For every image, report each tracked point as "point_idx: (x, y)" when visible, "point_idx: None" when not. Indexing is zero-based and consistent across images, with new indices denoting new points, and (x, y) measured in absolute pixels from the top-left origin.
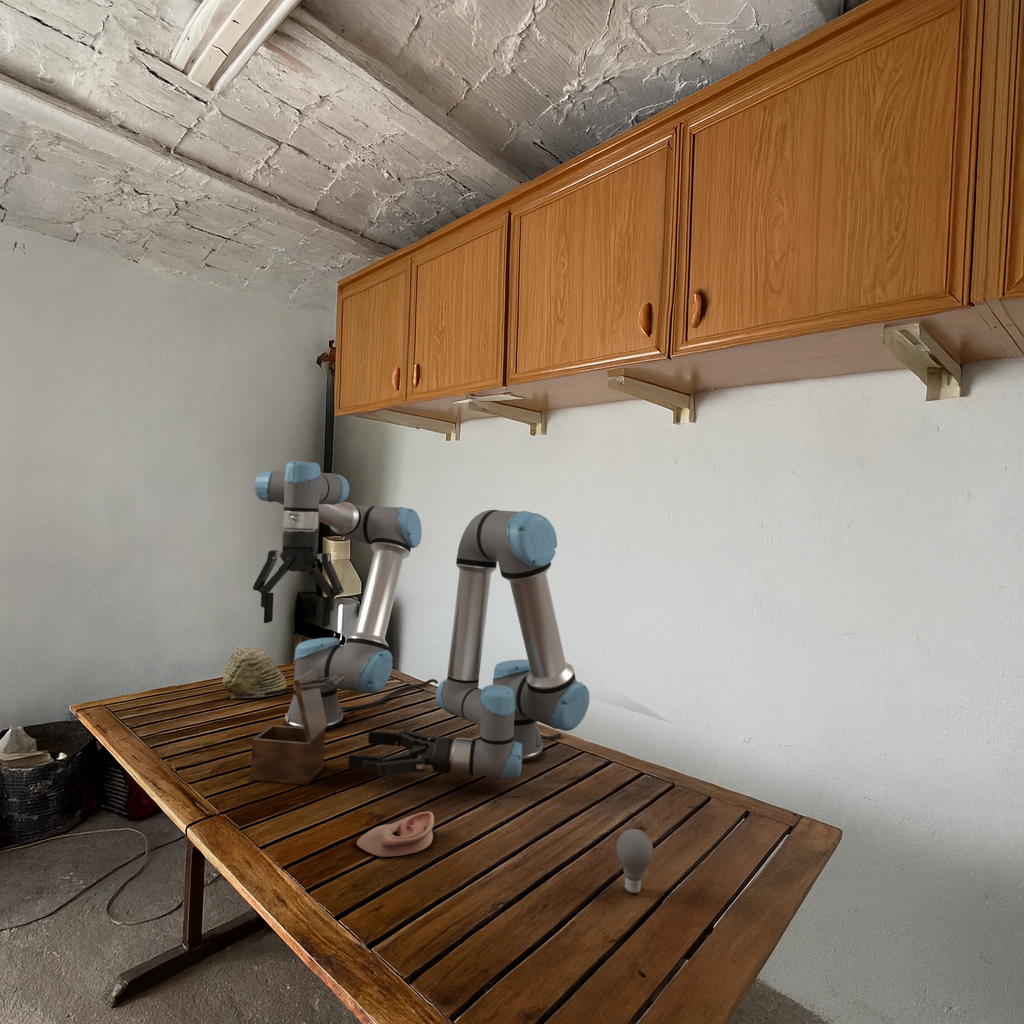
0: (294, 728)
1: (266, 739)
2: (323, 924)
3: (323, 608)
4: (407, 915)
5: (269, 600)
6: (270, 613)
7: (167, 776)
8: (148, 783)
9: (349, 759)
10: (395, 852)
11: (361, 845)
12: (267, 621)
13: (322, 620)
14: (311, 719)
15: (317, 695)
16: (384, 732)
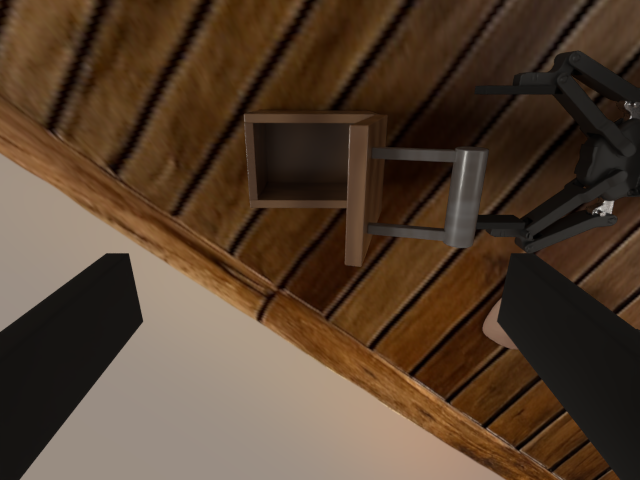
0: (306, 122)
1: (279, 202)
2: (474, 434)
3: (573, 413)
4: (548, 417)
5: (36, 415)
6: (105, 315)
7: (121, 199)
8: (113, 227)
9: None
10: None
11: (491, 338)
12: (136, 319)
13: (516, 345)
14: (378, 200)
15: (377, 145)
16: (525, 88)
